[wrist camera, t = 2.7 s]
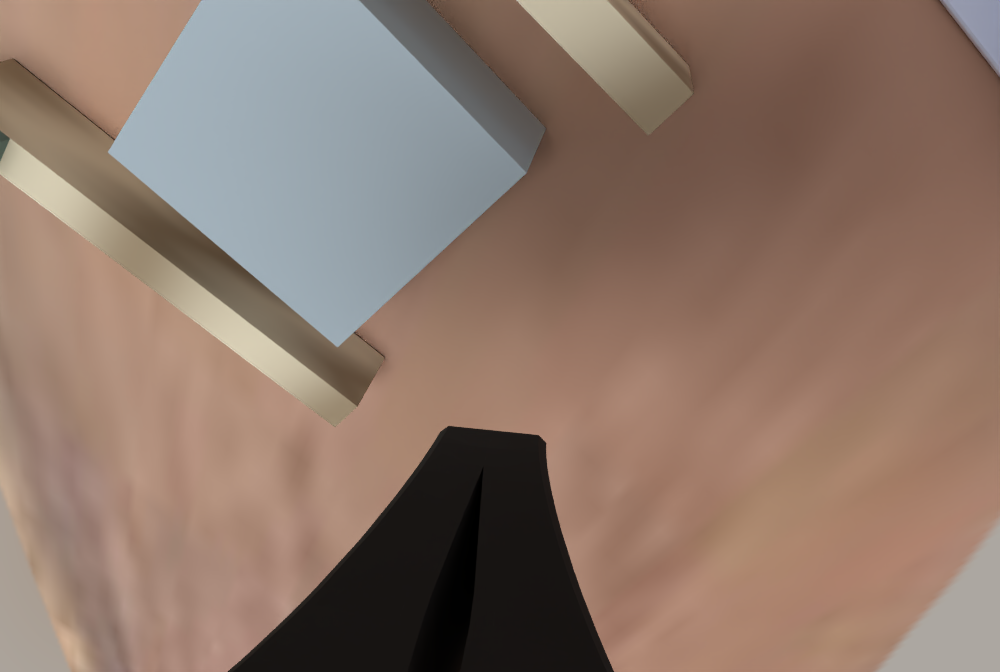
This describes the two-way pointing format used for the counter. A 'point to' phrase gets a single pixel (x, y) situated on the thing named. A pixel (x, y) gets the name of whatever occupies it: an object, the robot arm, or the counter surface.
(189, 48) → the block
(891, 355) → the counter surface
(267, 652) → the robot arm
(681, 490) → the counter surface
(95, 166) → the channel
